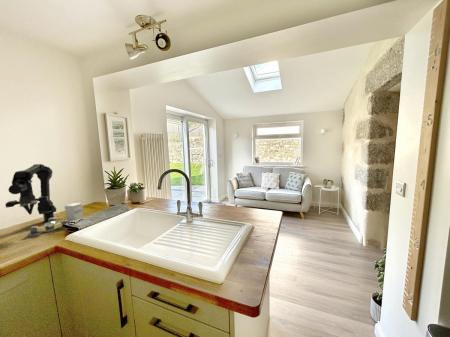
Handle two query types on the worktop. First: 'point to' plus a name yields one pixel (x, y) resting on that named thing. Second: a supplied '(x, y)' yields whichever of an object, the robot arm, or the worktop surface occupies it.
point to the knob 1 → (36, 229)
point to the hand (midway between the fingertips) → (30, 214)
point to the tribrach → (47, 228)
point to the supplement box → (74, 211)
